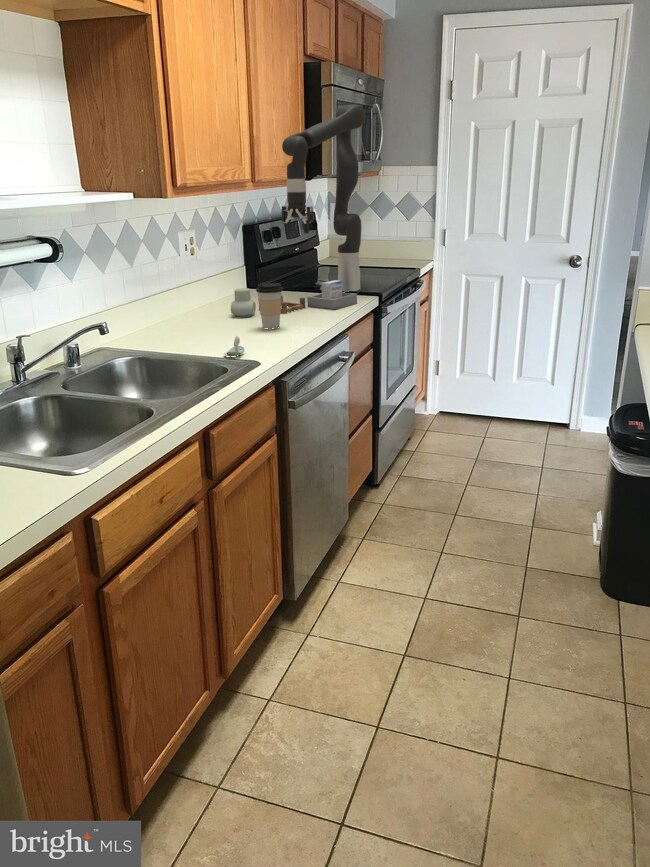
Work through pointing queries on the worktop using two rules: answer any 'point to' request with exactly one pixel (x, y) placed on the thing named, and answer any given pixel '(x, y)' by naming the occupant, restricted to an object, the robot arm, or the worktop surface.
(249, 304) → the air freshener
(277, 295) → the coffee cup
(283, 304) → the holder
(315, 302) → the tray
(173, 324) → the worktop surface
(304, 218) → the robot arm
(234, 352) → the pacifier
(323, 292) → the medicine box
